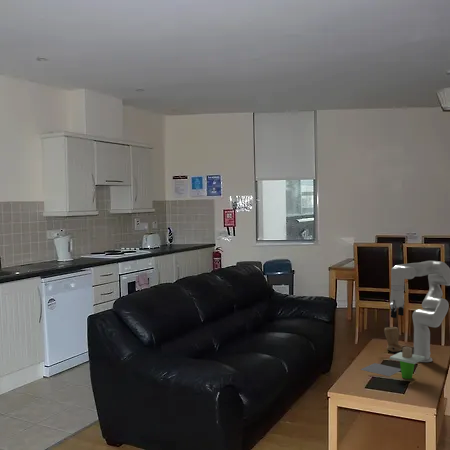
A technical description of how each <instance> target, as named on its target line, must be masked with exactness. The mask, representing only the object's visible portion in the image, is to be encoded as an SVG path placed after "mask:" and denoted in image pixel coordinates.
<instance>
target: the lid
mask: <svg viewBox="0 0 450 450" xmlns="http://www.w3.org/2000/svg"><path fill="white" fill-rule="evenodd" d="M423 359H425V357H424V356H419V355H414V353H413V347H411V346H404V347H403V346H402V350H401V351H398V352H396V353H395V354H393V355H390V356H389V360H392V361H393V360H394V361H398V362H400V361H402V362H407V363H412V364H417V363H420V362H419V361H421V360H423Z"/></svg>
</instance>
